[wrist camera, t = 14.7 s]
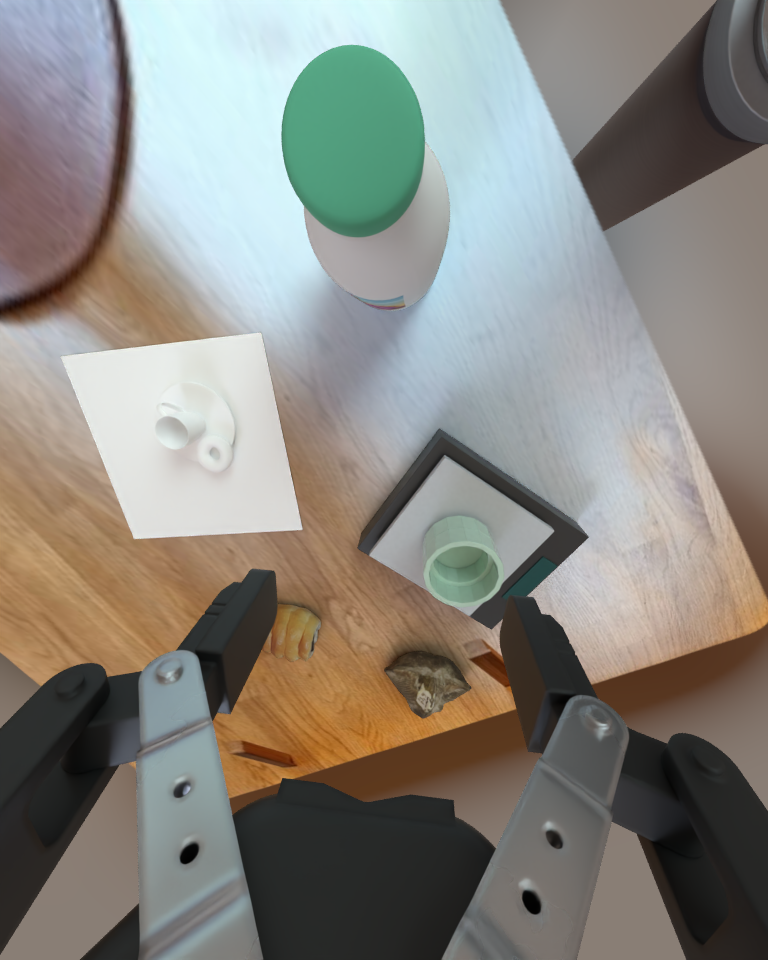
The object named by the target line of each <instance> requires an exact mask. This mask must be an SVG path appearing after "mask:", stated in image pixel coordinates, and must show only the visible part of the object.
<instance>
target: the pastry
mask: <svg viewBox="0 0 768 960" xmlns="http://www.w3.org/2000/svg"><path fill="white" fill-rule="evenodd" d="M277 606H278V607H277V616H276V620H275V623H274V625H273V627H272V629H271V632H270V634H269V636H268V638H267V640H266V642H265V644H264V646H263V648H262V649H263V651H264V652H271V653H272V654H273V655H274V656H275V657H276V658H282V657H285V658H287V660H288V661H290V662H294V661H296V660H298V659H302V660H304V661H307V660H308V659H309V658H311V656H312V655H313V652H314V643H316V641H317V638H318V631H317V630H319V628H320V627H321V621H320V620H319V618H318V617H316V616H315V615H314V614H313V613H312V612H311V611H310V610H308V609H306V608H300V607H297V606H295V605H288V604H285V605H283V604H279V603H278V604H277Z"/></svg>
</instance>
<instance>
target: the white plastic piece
mask: <svg viewBox="0 0 768 960" xmlns="http://www.w3.org/2000/svg"><path fill="white" fill-rule="evenodd" d="M196 412H200V413H203V415H204V416H206V417H205V418H206V419H208V420H207V421H208V422H209V423H208V425H207V426H208V428H206V421H205V419H204V418H203V417H202V416H201V415H200V414H198V413H196ZM154 419H155V424H154V434H155V437H156V439H157V440H158V442H159V443H160V444H161V445H162V446H164V447H165V448H167V449H169V450H172V451H173V452H174V453H176V454H177V455H179V456H180V457H182V458H184V459H186V460H188V461H191V462H195V463H200V465H201V466H202V467H203V468H205V469H206V470H207V471H209V472H212V473H222V472H224V471H226V470H227V469H228V468H229V467H230V466H231V465H232V463H233V461H234V450H233V445H234V442H235V438H236V423H235V419H234V416H233V413H232V411H231V409H230V407H229V406H228V404H227V403H226V401H225V400H224V399H223V398H222V397H221V396H220V395H219V394H218V393H217V392H216V391H214V390H213V389H211V388H210V387H208V386H206V385H204V384H202V383H199V382H194V381H180V382H176V383H173V384H171V385H170V386H168V387H167V388H165V389H164V390H163V391H162V393H161V394H160V395H159V397H158V399H157V401H156V404H155V409H154Z"/></svg>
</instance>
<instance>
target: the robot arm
mask: <svg viewBox="0 0 768 960" xmlns="http://www.w3.org/2000/svg"><path fill="white" fill-rule="evenodd" d="M753 44H754V52H755V57H756V61H757V64H758V67H759V70H760V72H761V74H762V76H763V77H764V79H765V80H766V82H767V83H768V0H758V2H757V7H756V11H755V18H754V27H753ZM277 607H278V606H277V589H276V575H275V572H274V571H271V570H261V569H251V570H250V571H249V573H248V574H247V575H246V577H245V578H244V580H243V581H242V583H238V582H233V583H232V584H231V585H229V586H228V587H226V588H225V589H223V590H222V591H221V592H220V593H219V594H218V596H217V597H216V598H215V600H214V601H213V602H212V605H210V606H209V607H208V609H207V610H206V611H205V614H204V615H202V617H201V618H200V619H199V621H198V622H197V623H196V625H195V626H194V627H193V629H192V630H191V631H190V633H189V634H188V635H187V637H186V638H185V639H184V641H183V642H182V643H181V645H180V646H179V647H178V649H177V650H176V651H172V652H168V653H166V654H163V655H161V656H159V657H157V658H156V659H154V660H153V661H152V662H150V663H149V664H148V665H147V666H146V667H145V668H144V670H143V671H140V672H135V673H129V674H123V675H116V676H110V677H107V675H106V672H105V669H104V668H103V667H102V666H101V665H99V664H94V663H86V664H80V665H76V666H73V667H70V668H68V669H66V670H64V671H62V672H60V673H58V674H57V675H55V676H53V677H52V678H51V679H49V680H48V681H47V682H46V683H45V684H44V685H43V686H42V687H41V688H40V689H39V690H38V691H37V692H36V693H35V694H34V695H33V696H32V697H31V698H30V699H29V700H28V701H27V702H26V703H25V704H24V705H23V706H22V707H21V708H20V709H19V710H18V711H17V712H16V713H15V714H14V715H13V716H12V717H11V718H10V719H9V720H8V721H7V722H6V723H5V724H4V725H3V726H2V728H0V954H1V953H2V951H3V950H4V948H5V946H6V945H7V943H8V941H9V940H10V938H11V937H12V935H13V934H14V932H15V930H16V929H17V927H18V926H19V924H20V922H21V921H22V919H23V918H24V916H25V914H26V913H27V911H28V910H29V908H30V907H31V905H32V903H33V902H34V900H35V898H36V897H37V895H38V894H39V892H40V891H41V889H42V887H43V886H44V884H45V883H46V881H47V879H48V878H49V876H50V874H51V873H52V871H53V870H54V868H55V867H56V865H57V863H58V862H59V860H60V859H61V857H62V856H63V854H64V852H65V851H66V849H67V848H68V846H69V844H70V843H71V841H72V840H73V838H74V836H75V835H76V833H77V831H78V830H79V828H80V827H81V825H82V824H83V822H84V821H85V819H86V817H87V816H88V814H89V813H90V811H91V809H92V808H93V806H94V805H95V803H96V801H97V800H98V798H99V797H100V795H101V793H102V792H103V790H104V789H105V787H106V786H107V784H108V782H109V781H110V779H111V778H112V776H113V774H114V773H115V771H116V770H117V768H118V766H119V765H120V764H125V763H129V762H134V761H136V781H137V782H136V783H137V827H138V874H139V875H138V876H139V904H138V905H137V906H136V907H135V908H134V909H132V910H131V911H130V912H129V913H128V914H127V915H126V916H125V917H124V918H123V919H122V920H121V921H120V922H119V923H118V924H117V925H116V926H115V927H114V928H113V929H112V930H110V931H109V932H108V933H107V934H106V935H105V936H104V937H103V938H102V939H101V940H100V941H99V942H98V943H97V944H96V945H95V946H94V947H93V948H92V949H91V950H89V951H88V952H87V953H86V954H85V955H84V956H83V957H82V958H81V959H80V960H577V956H578V952H579V948H580V944H581V941H582V937H583V933H584V929H585V925H586V921H587V917H588V913H589V909H590V905H591V901H592V897H593V893H594V889H595V886H596V882H597V877H598V873H599V870H600V866H601V862H602V858H603V854H604V850H605V846H606V842H607V838H608V834H609V830H610V827H611V822H614V823H616V824H618V825H620V826H622V827H624V828H626V829H628V830H631V831H633V832H635V833H637V836H638V838H639V841H640V843H641V845H642V848H643V850H644V853H645V856H646V858H647V861H648V863H649V866H650V869H651V871H652V874H653V876H654V879H655V881H656V884H657V886H658V889H659V891H660V894H661V896H662V899H663V902H664V904H665V907H666V909H667V912H668V914H669V917H670V919H671V922H672V924H673V927H674V929H675V932H676V934H677V937H678V940H679V942H680V945H681V947H682V950H683V952H684V955H685V957H686V960H768V811H767V809H766V808H765V806H764V805H763V803H762V802H761V801H760V799H759V798H758V796H757V795H756V793H755V792H754V791H753V789H752V787H751V786H750V785H749V783H748V782H747V780H746V779H745V777H744V776H743V774H742V773H741V771H740V770H739V769H738V767H737V766H736V765H735V764H734V763H733V761H731V759H730V758H729V757H728V756H727V755H725V754H724V753H723V752H722V751H721V750H719V749H718V748H717V747H715V746H714V745H712V744H711V743H709V742H707V741H705V740H704V739H701V738H699V737H697V736H694V735H691V734H686V733H678V734H675V735H673V736H672V737H671V738H670V740H669V742H668V743H664V742H661V741H659V740H656V739H654V738H651V737H649V736H646V735H644V734H641V733H638V732H636V731H634V730H632V729H630V728H628V727H627V726H626V724H625V723H624V721H623V719H622V718H621V717H620V716H619V714H618V713H617V712H615V710H614V709H612V708H611V707H610V706H608V705H607V704H606V703H604V702H602V701H601V700H599V699H598V698H597V696H596V694H595V692H594V690H593V688H592V686H591V684H590V682H589V680H588V678H587V676H586V674H585V672H584V670H583V668H582V666H581V663H580V661H579V659H578V657H577V655H575V651H574V649H573V647H572V645H571V644H569V639H568V637H567V635H566V633H565V631H564V629H563V627H562V626H561V625H560V624H559V623H558V622H557V621H556V620H555V619H554V618H553V617H552V616H551V615H545V614H541V612H540V609H539V607H538V605H537V603H536V601H535V599H534V598H533V597H525V596H515V595H510V596H509V597H508V599H507V603H506V608H505V612H504V616H503V621H502V625H501V630H500V648H501V652H502V656H503V660H504V664H505V667H506V671H507V675H508V679H509V682H510V686H511V690H512V693H513V697H514V701H515V705H516V708H517V712H518V716H519V719H520V723H521V727H522V731H523V734H524V738H525V742H526V745H527V749H528V752H536V753H542V757H541V758H539V760H538V761H537V763H536V765H535V768H534V770H533V772H532V774H531V776H530V778H529V780H528V783H527V784H526V787H525V789H524V791H523V793H522V795H521V797H520V799H519V801H518V803H517V806H516V808H515V810H514V812H513V814H512V816H511V818H510V820H509V823H508V825H507V827H506V829H505V831H504V833H503V835H502V837H501V839H500V841H499V843H498V846H497V848H495V847H494V846H493V845H492V844H491V843H490V842H489V841H488V840H487V839H486V838H485V837H484V836H483V835H482V834H481V833H479V831H477V830H476V829H475V828H473V827H472V826H470V825H469V824H467V823H466V822H464V821H463V820H461V819H459V818H456V817H455V813H454V800H448V799H440V798H432V797H425V796H417V795H406V796H401V797H395V798H390V799H384V800H379V801H373V802H363V801H360V800H358V799H356V798H354V797H352V796H350V795H347V794H345V793H343V792H341V791H339V790H337V789H335V788H332V787H330V786H328V785H326V784H324V783H316V782H309V781H301V780H294V779H286V778H282V781H281V784H280V788H279V791H278V794H273V795H269V796H266V797H263V798H260V799H258V800H256V801H254V802H252V803H250V804H248V805H246V806H245V807H243V808H242V809H240V810H238V811H237V812H236V813H234V814H233V815H232V812H231V807H230V803H229V798H228V793H227V788H226V784H225V779H224V774H223V769H222V765H221V760H220V755H219V750H218V746H217V741H216V736H215V732H214V727H213V722H212V721H213V720H214V718H215V716H216V714H217V713H225V714H231V712H232V710H233V708H234V705H235V703H236V701H237V699H238V697H239V695H240V693H241V691H242V689H243V687H244V685H245V683H246V681H247V679H248V677H249V675H250V673H251V671H252V669H253V666H254V664H255V662H256V660H257V658H258V656H259V654H260V652H261V650H262V648H263V646H264V644H265V642H266V640H267V638H268V636H269V634H270V632H271V629H272V627H273V625H274V623H275V620H276V616H277Z"/></svg>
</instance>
